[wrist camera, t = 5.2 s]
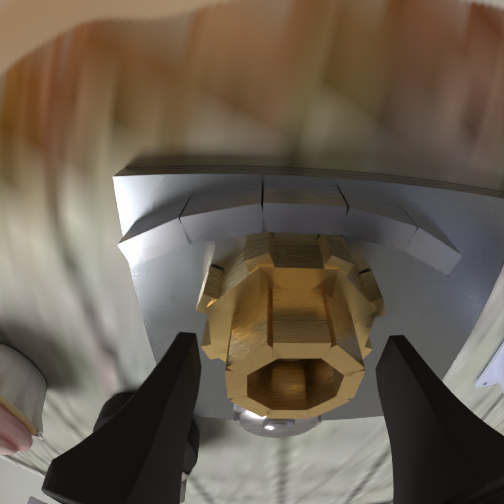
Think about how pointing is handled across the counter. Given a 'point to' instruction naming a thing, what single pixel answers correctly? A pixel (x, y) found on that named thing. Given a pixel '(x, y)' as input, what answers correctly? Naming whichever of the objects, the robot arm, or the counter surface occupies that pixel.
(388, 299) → the carrier
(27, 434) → the cupcake
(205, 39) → the counter surface
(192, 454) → the caster wheel
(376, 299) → the planet gear
